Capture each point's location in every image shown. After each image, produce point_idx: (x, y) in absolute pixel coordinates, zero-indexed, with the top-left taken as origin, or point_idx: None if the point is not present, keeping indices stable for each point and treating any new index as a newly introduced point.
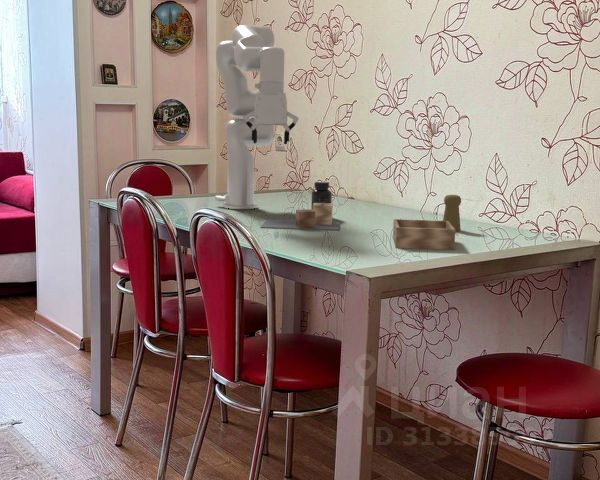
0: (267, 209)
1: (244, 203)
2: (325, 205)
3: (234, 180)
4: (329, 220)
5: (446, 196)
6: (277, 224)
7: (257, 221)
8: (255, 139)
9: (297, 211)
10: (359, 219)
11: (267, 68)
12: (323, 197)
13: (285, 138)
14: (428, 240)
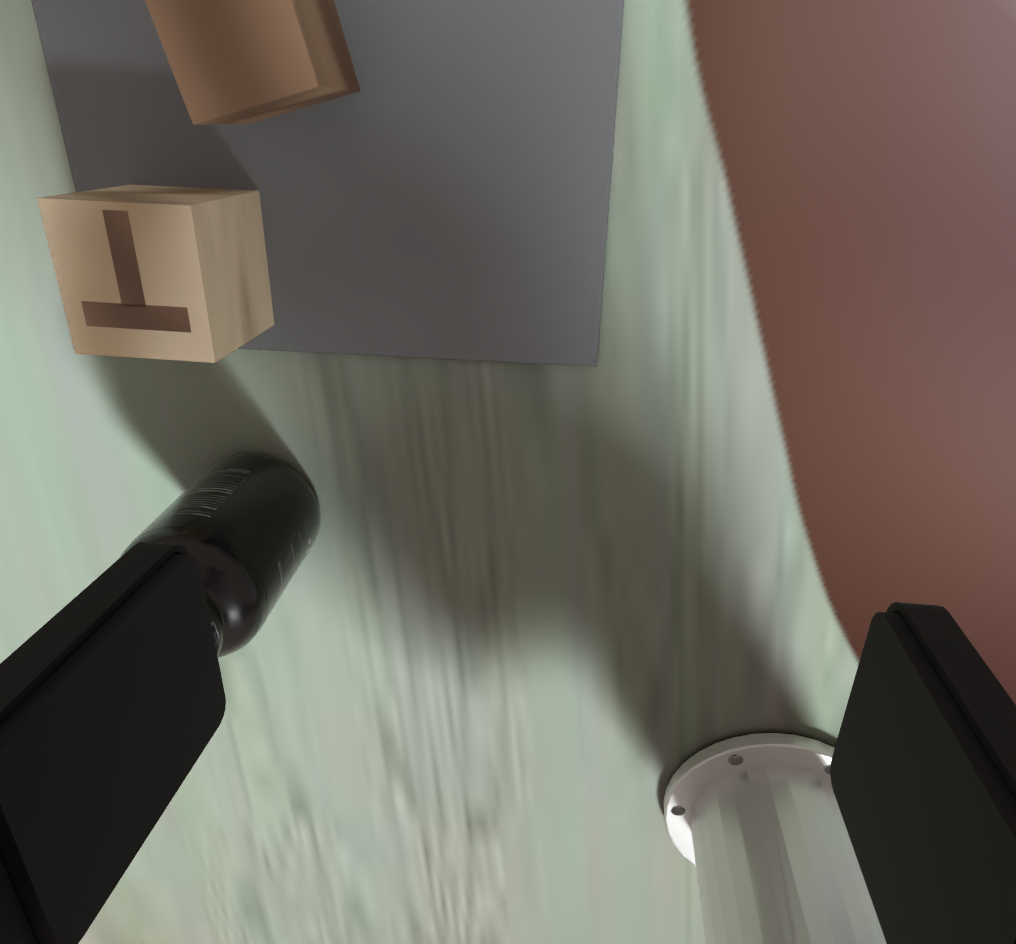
0: (606, 759)
1: (749, 779)
2: (90, 214)
3: (861, 925)
4: (124, 187)
5: None
6: (499, 121)
7: (657, 297)
8: (919, 663)
9: (295, 6)
10: (43, 481)
11: None
12: (170, 520)
13: (82, 610)
14: None
